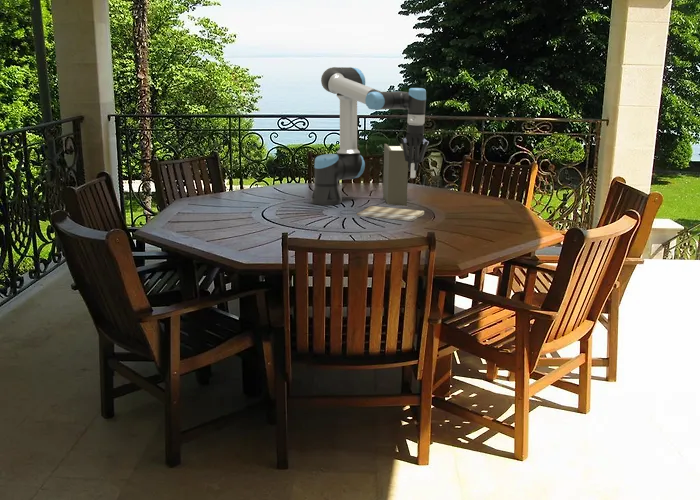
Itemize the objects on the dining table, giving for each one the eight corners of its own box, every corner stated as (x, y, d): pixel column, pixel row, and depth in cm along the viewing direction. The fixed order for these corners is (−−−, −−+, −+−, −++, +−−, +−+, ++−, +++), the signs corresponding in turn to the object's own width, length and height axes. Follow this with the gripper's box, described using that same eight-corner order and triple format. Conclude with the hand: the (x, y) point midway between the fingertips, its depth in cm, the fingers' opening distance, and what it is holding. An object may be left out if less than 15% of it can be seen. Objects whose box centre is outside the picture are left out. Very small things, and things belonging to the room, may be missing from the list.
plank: (363, 214, 301) (363, 210, 300) (370, 209, 309) (370, 205, 308) (417, 219, 290) (417, 215, 290) (424, 214, 298) (424, 210, 298)
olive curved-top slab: (406, 207, 321) (408, 149, 313) (387, 207, 320) (389, 149, 313) (401, 198, 342) (402, 143, 334) (382, 198, 341) (384, 143, 333)
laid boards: (356, 217, 295) (356, 213, 294) (362, 214, 300) (362, 210, 299) (412, 222, 284) (412, 218, 284) (416, 220, 289) (416, 216, 289)
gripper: (398, 123, 290) (396, 177, 297) (427, 125, 285) (423, 180, 291) (404, 122, 297) (402, 175, 303) (432, 124, 291) (429, 177, 298)
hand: (412, 177), depth 297 cm, fingers closed
